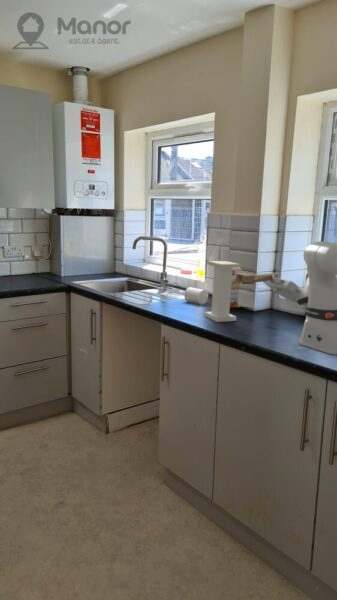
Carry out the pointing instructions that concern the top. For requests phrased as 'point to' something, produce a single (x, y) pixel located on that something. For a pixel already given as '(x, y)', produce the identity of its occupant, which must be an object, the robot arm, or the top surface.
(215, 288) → the stand
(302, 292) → the robot arm
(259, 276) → the mallet
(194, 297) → the mug
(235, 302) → the cracker box
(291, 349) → the top surface
